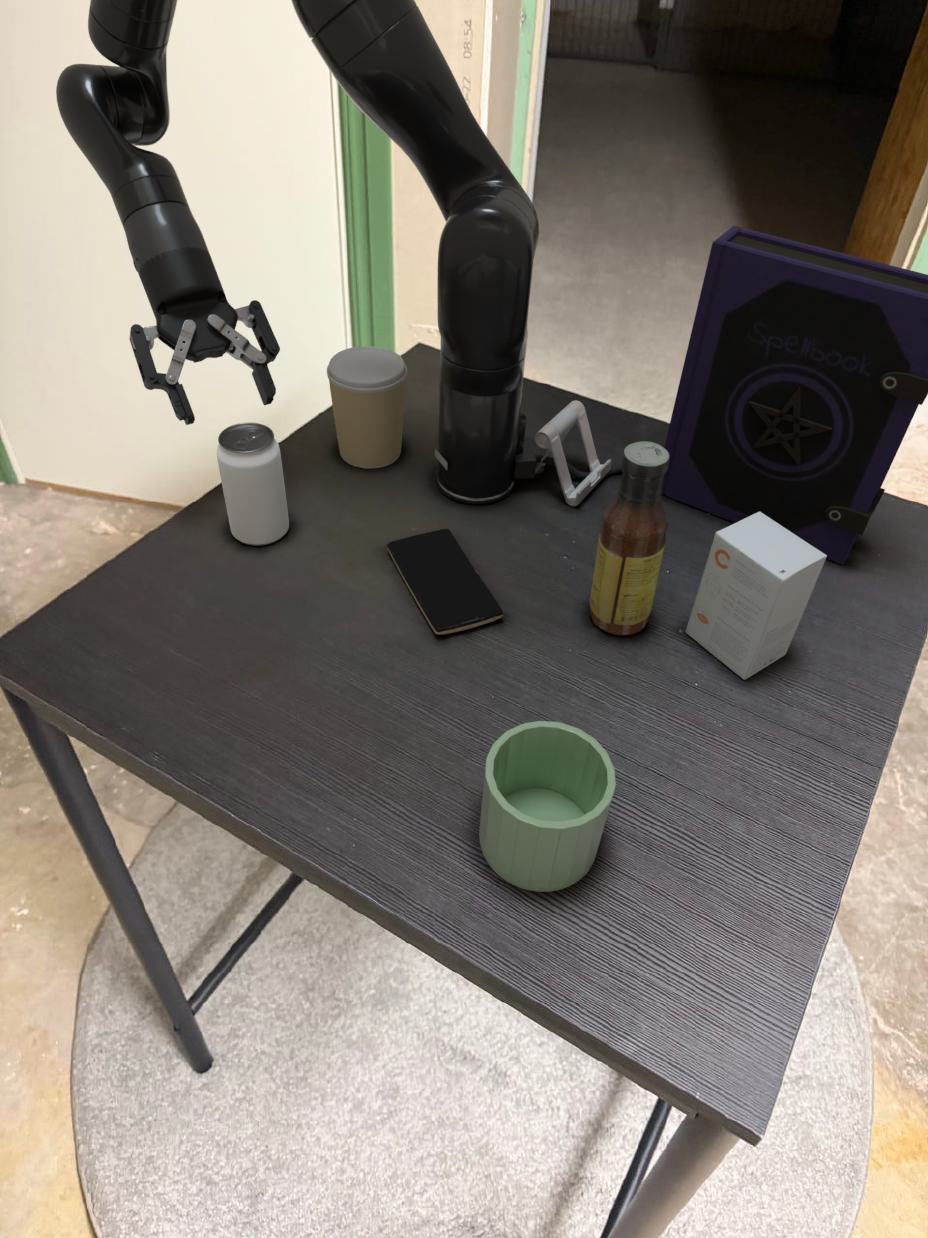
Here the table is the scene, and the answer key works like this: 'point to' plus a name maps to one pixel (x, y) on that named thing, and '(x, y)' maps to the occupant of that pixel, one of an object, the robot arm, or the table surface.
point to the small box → (753, 593)
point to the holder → (544, 805)
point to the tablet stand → (552, 440)
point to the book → (797, 386)
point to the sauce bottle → (631, 543)
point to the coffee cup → (368, 404)
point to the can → (253, 483)
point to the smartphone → (444, 582)
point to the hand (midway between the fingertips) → (230, 412)
